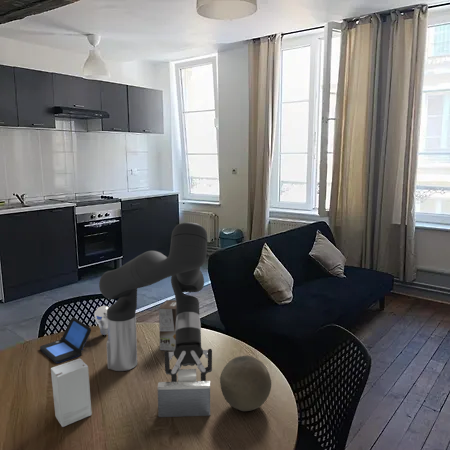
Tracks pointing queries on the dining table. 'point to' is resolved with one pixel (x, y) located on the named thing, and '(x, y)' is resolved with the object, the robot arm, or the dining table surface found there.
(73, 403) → the skincare box
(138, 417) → the dining table surface
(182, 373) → the block
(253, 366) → the cantaloupe
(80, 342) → the handheld game console
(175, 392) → the grey flat box
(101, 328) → the light bulb
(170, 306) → the coffee box
